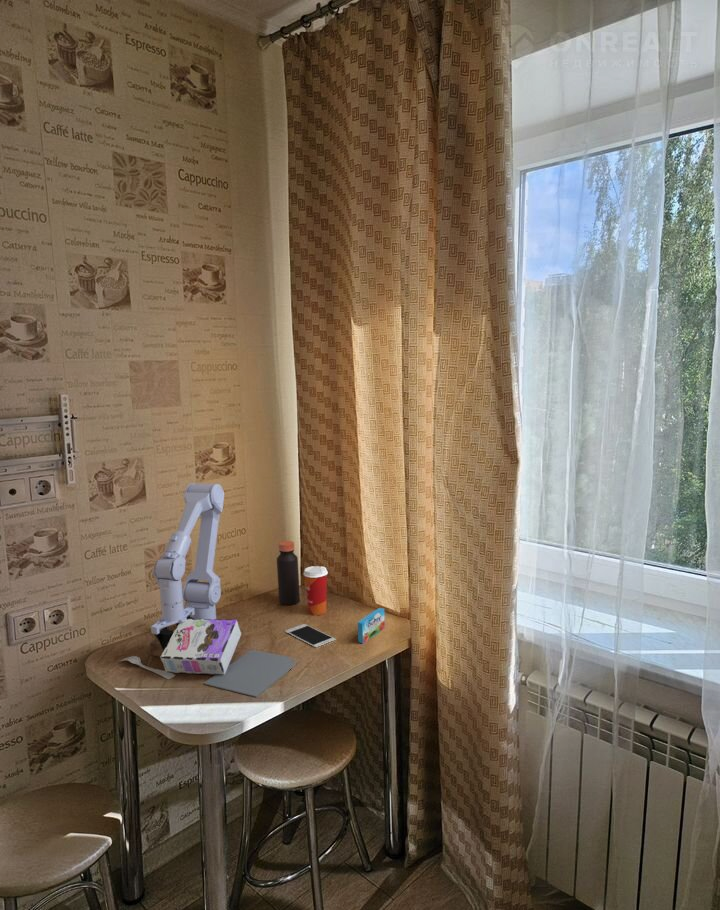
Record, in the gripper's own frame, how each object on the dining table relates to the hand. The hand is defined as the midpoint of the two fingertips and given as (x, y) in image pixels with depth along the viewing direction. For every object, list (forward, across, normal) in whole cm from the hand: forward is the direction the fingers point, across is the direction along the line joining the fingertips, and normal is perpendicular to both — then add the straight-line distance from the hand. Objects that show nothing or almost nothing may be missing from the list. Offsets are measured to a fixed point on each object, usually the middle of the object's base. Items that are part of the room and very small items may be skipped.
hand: (176, 648), depth 174 cm
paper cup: (+2, +40, -21) cm, 45 cm away
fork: (+2, -9, +2) cm, 10 cm away
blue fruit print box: (+2, +31, -44) cm, 54 cm away
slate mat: (+2, 0, -26) cm, 26 cm away
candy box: (-4, 0, -19) cm, 20 cm away
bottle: (+2, +44, -8) cm, 45 cm away
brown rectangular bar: (+2, +1, -1) cm, 2 cm away
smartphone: (+2, +24, -28) cm, 37 cm away
